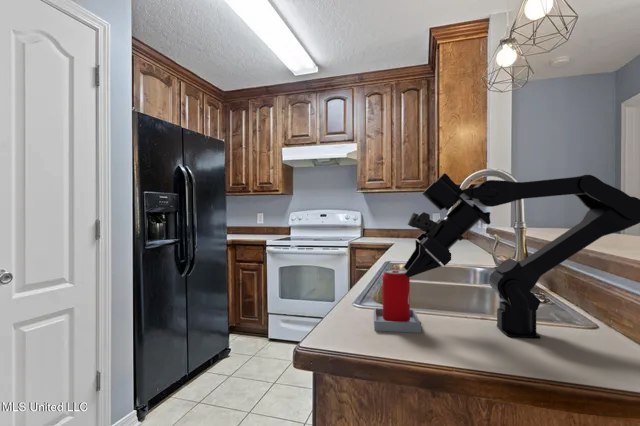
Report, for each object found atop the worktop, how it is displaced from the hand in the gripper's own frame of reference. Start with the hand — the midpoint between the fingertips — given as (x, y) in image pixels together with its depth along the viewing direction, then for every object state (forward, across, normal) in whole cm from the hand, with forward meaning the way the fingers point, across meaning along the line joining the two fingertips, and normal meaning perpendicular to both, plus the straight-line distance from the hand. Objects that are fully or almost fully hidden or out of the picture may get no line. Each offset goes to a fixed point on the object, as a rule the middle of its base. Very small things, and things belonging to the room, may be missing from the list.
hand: (405, 272), depth 77 cm
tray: (+11, 0, +7) cm, 13 cm away
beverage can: (+10, 0, +7) cm, 12 cm away
